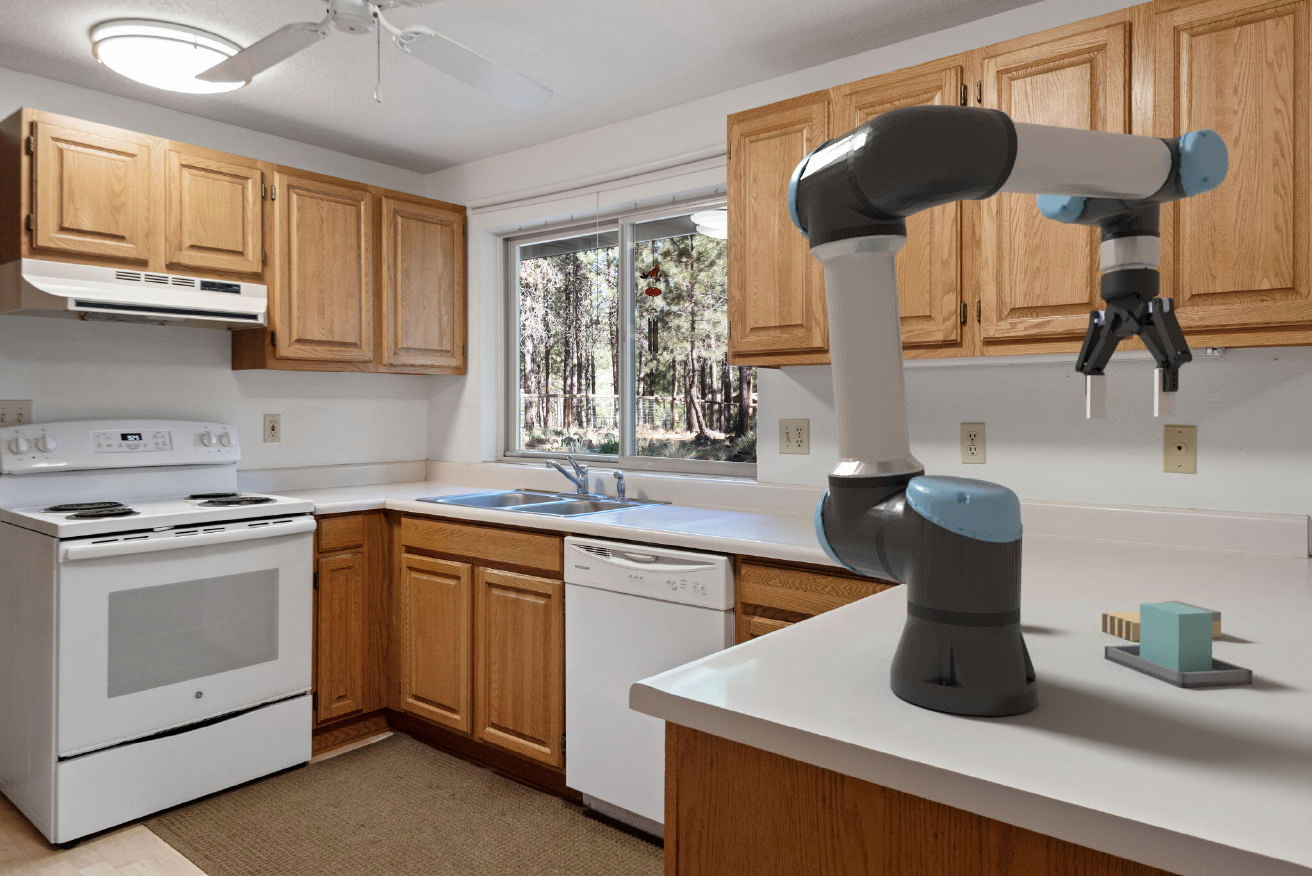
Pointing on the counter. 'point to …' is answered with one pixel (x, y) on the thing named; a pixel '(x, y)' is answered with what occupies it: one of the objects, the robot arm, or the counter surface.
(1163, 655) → the block
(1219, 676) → the tray
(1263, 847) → the counter surface
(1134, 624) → the tan notched slab
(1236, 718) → the counter surface
